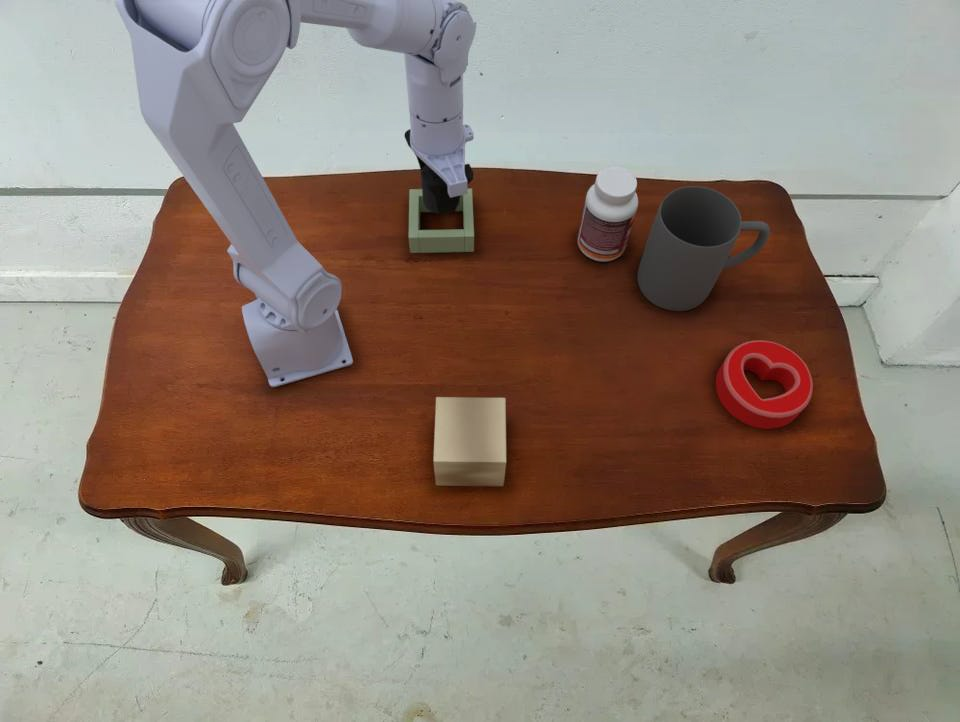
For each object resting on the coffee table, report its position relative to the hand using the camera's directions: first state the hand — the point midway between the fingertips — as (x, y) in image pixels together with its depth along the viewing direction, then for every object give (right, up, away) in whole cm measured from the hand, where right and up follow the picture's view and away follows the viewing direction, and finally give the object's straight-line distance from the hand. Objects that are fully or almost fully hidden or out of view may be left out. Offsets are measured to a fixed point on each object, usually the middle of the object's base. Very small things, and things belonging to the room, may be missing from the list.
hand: (440, 196), depth 86 cm
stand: (+4, -30, -11) cm, 32 cm away
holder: (0, -3, +5) cm, 6 cm away
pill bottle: (+20, -5, +4) cm, 21 cm away
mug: (+31, -10, +1) cm, 32 cm away
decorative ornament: (+36, -23, -6) cm, 43 cm away
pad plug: (0, 0, +1) cm, 1 cm away
